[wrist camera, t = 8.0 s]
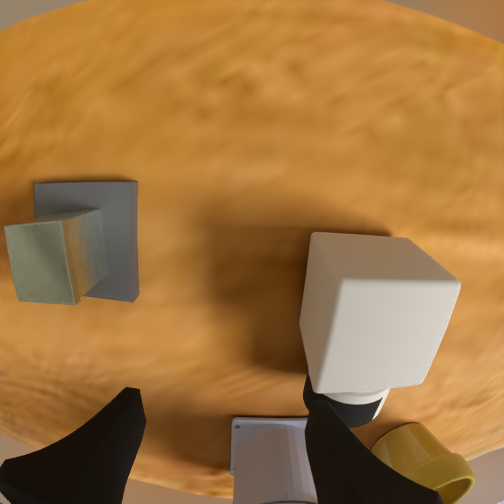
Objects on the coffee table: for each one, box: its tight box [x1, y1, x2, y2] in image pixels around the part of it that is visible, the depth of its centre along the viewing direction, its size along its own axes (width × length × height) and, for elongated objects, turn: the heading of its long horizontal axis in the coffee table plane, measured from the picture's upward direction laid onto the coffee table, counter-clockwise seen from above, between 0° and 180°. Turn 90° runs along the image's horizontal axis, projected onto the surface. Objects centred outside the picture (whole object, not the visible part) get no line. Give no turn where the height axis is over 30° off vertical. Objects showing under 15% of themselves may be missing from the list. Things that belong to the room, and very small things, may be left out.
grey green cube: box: [4, 209, 109, 305], centre depth 17 cm, size 5×5×5 cm
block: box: [34, 181, 139, 302], centre depth 20 cm, size 8×8×2 cm
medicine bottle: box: [299, 232, 461, 428], centre depth 18 cm, size 7×7×12 cm
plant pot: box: [371, 423, 475, 504], centre depth 22 cm, size 10×10×10 cm
